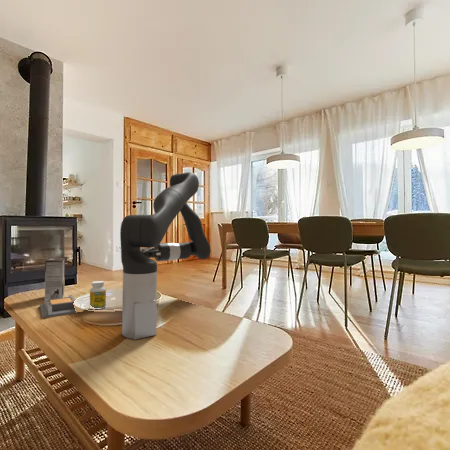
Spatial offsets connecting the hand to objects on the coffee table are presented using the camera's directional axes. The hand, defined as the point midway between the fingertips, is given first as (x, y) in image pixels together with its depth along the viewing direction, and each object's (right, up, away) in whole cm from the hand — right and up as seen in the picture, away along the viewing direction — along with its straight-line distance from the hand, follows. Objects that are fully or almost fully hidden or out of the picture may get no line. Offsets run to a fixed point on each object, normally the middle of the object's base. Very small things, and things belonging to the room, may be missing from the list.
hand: (128, 253), depth 109 cm
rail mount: (-21, -19, -9) cm, 30 cm away
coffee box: (-33, -19, +7) cm, 39 cm away
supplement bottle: (-9, -19, -7) cm, 22 cm away
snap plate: (-21, -17, -9) cm, 29 cm away
